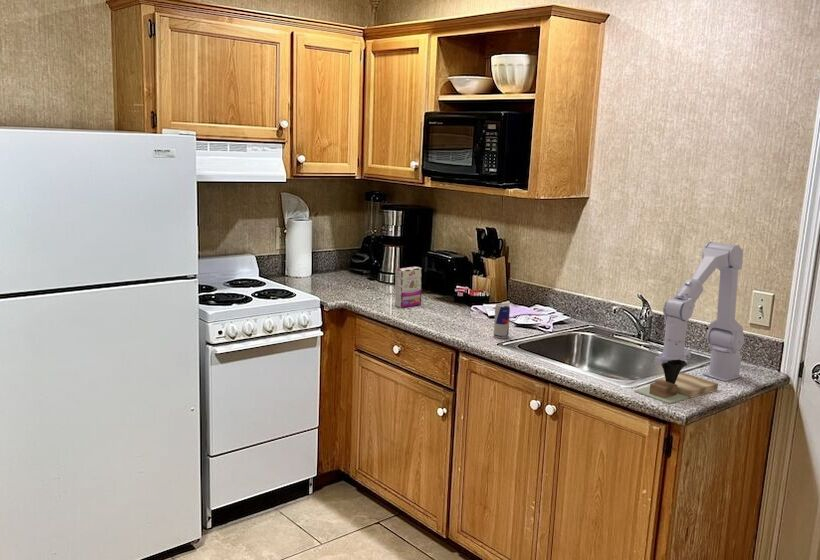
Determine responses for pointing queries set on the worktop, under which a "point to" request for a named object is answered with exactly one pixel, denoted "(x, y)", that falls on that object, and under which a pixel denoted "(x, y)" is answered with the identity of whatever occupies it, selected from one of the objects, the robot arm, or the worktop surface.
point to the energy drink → (501, 321)
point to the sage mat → (667, 400)
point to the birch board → (692, 385)
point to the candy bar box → (408, 287)
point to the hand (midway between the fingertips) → (670, 384)
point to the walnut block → (663, 389)
